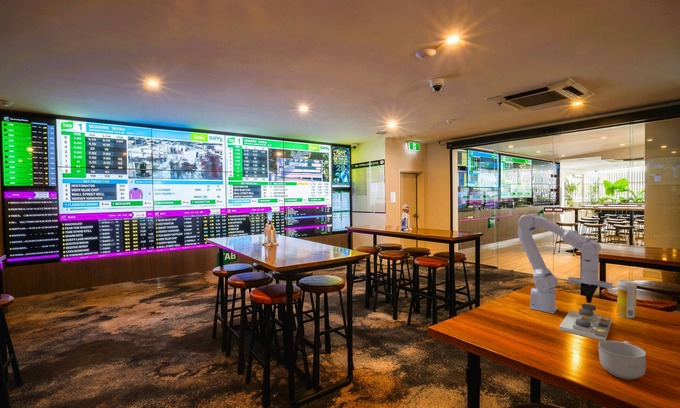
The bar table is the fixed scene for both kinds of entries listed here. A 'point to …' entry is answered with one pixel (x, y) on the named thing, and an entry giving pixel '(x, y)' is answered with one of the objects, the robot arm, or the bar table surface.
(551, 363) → the bar table surface
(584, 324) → the button
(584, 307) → the button
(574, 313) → the board
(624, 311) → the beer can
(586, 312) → the button
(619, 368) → the light grey bowl
